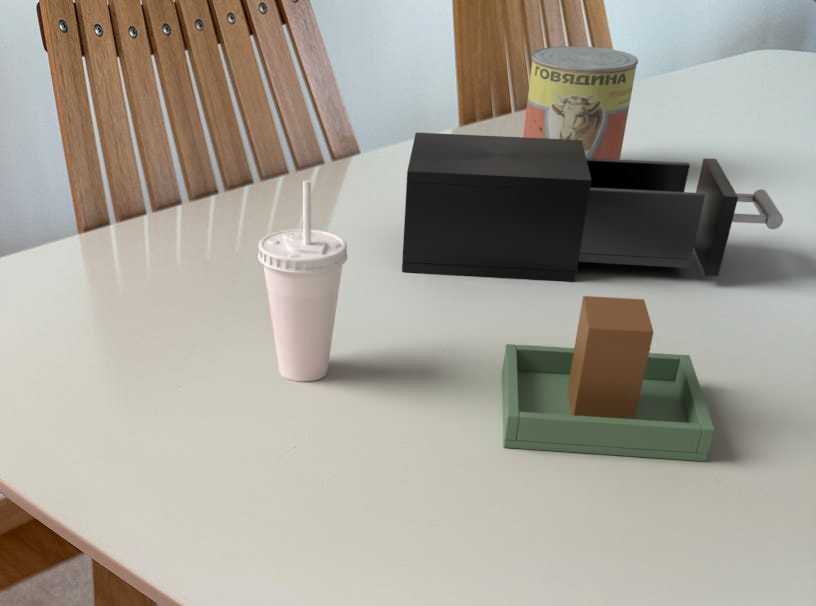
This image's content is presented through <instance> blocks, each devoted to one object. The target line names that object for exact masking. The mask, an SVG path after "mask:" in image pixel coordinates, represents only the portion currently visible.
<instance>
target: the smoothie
mask: <svg viewBox="0 0 816 606" xmlns="http://www.w3.org/2000/svg"><path fill="white" fill-rule="evenodd" d="M347 248H348V244H347V242H346V240H345V239H344V238H342V237H341V236H339V234H336V233H332V232H329V231H325V230H320V229H312V180H310V179H305V180H302V228H292V229H284V230H278V231H275V232H272V233H269V234H268V235H265V236H264V237H263V238H261V239H260V241H259V242H258V254H257V259H258V261H259V262H260V263H261V264H262V265H263V271H264V277H265V278H264V279H265V285H266V291H267V297H268V304H269V311H270V317H271V325H272V331H273V337H274V345H275V350H276V351H275V352H276V357H277V364H278V371H279V374H280V375H281V376H282V377H283V378H285V379H287V380H290V381H295V382H314V381H317V380H320V379H323V378H325V376H326V375H327V374H328V370H329V363H330V357H331V349H332V341H333V335H334V328H335V320H336V314H337V305H338V299H339V291H340V287H341V286H340V285H341V277H342V270H343V265H345V263H346V262H347V261H348V253H347V252H348V249H347Z"/></svg>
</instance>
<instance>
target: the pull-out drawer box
mask: <svg viewBox="0 0 816 606" xmlns="http://www.w3.org/2000/svg"><path fill="white" fill-rule="evenodd" d="M586 160H587V164H588V168H589V172H590V176H591V187H590V193H589V199H588V205H587V211H586V217H585V224H584V230H583V236H582V242H581V248H580V254H579V260H578V263H588V264H589V263H590V264H608V265H609V264H610V265H626V266H627V265H628V266H644V267H645V266H646V267H662V268H663V267H665V268H679V269H680V268H682V269H689V268H690V263H691V258H692V255H693V251H694V253H695V256H696V258H697V260H698V263H699V265H700V267H701V270H702V272H703V275H704V277H713V278H714V277H716V278H717V277H718V278H719V276H720V272H721V267H722V264H723V260H724V256H725V252H726V248H727V245H728V244H727V243H728V241H729V236H730V232H731V228H732V224H733V223H745V224H762V225H763V224H765V226H766V227H767V228H768V229H769V230H777V229H779V228H780V227H781V226H782V225H783V223H784V217H783V215H782V213H781V212H780V210H779V208H778V207H777V206H776V204H775V203H774V201H773V200H772V198H771V197H770V195H769V193H768V192H767V191H766V190H765V189H762V188H761V189H757V190H756V191H755V192H753V193H740V192H739V193H737V192H736V191H735V189H734V187H733V186H732V184H731V182H730V181H729V179H728V177H727V175H726V174H725V171H724V170H723V167H721V165H720V163H719V161H718V160H717V158H707V157H706V158H705V157H704V158H703V159H702V164H701V168H700V173H699V176H698V181H697V185H696V190H695V192H687V191H685V189H686V185H687V182H688V181H687V180H688V176H689V172H690V166H691V165H690V162H682V161H679V162H678V161H677V162H676V161H658V160H657V161H656V160H640V159H639V160H638V159H620V160H619V159H598V158H586ZM738 203H753V204H752V205H754V207H755V209H756V210H757V212H758V214H753V213H736V208H737V204H738Z"/></svg>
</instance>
